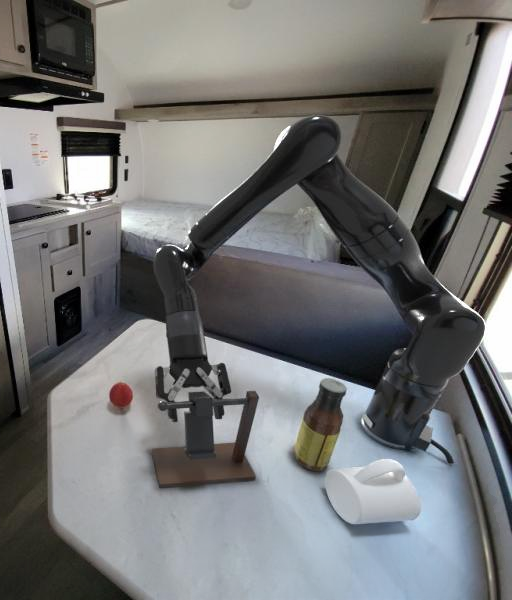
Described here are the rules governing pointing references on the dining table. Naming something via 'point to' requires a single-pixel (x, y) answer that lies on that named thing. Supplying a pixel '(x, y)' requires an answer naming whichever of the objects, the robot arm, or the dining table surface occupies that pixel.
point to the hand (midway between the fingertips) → (197, 420)
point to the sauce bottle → (321, 426)
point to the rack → (229, 456)
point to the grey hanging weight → (199, 427)
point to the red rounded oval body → (121, 395)
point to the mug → (373, 493)
